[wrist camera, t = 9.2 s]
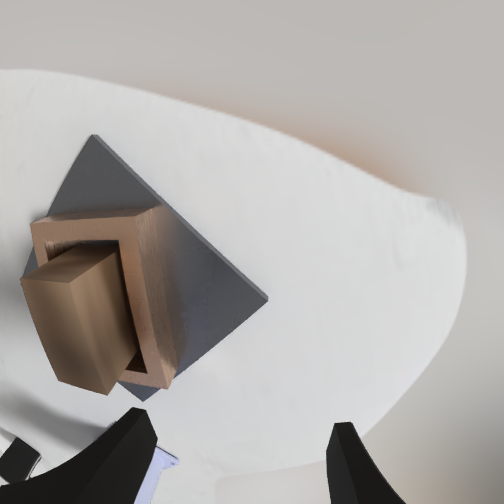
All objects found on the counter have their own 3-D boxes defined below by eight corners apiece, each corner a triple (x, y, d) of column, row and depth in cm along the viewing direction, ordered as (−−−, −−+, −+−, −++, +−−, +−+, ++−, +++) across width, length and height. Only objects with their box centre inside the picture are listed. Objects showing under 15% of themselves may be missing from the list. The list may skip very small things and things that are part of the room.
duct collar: (145, 397, 22) (132, 421, 19) (24, 281, 20) (2, 295, 17) (268, 296, 18) (265, 323, 15) (97, 134, 15) (67, 133, 13)
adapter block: (126, 244, 17) (69, 282, 11) (145, 339, 19) (107, 395, 13) (79, 244, 17) (19, 278, 12) (100, 333, 19) (58, 380, 14)
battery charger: (20, 442, 35) (-3, 475, 24) (15, 435, 34) (-9, 468, 23) (44, 460, 35) (23, 495, 24) (41, 453, 34) (17, 490, 23)
